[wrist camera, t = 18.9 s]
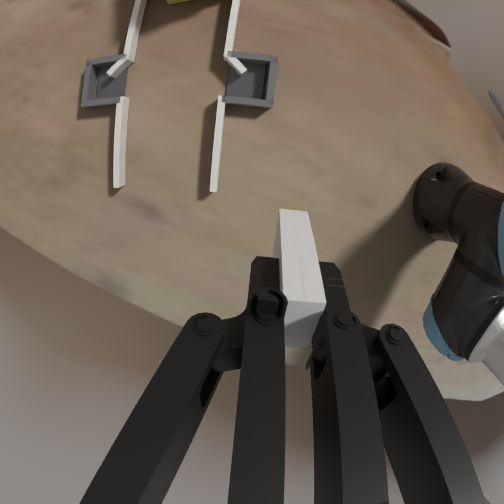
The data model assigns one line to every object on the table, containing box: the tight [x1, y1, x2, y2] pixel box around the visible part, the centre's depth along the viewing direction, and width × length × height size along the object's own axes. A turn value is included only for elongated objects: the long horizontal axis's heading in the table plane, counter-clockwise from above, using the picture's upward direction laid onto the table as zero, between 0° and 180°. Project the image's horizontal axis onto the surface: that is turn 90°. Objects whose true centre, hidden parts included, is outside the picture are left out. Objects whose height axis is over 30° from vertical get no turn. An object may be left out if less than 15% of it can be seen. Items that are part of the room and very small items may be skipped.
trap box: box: [81, 0, 278, 192], centre depth 30 cm, size 29×43×2 cm
